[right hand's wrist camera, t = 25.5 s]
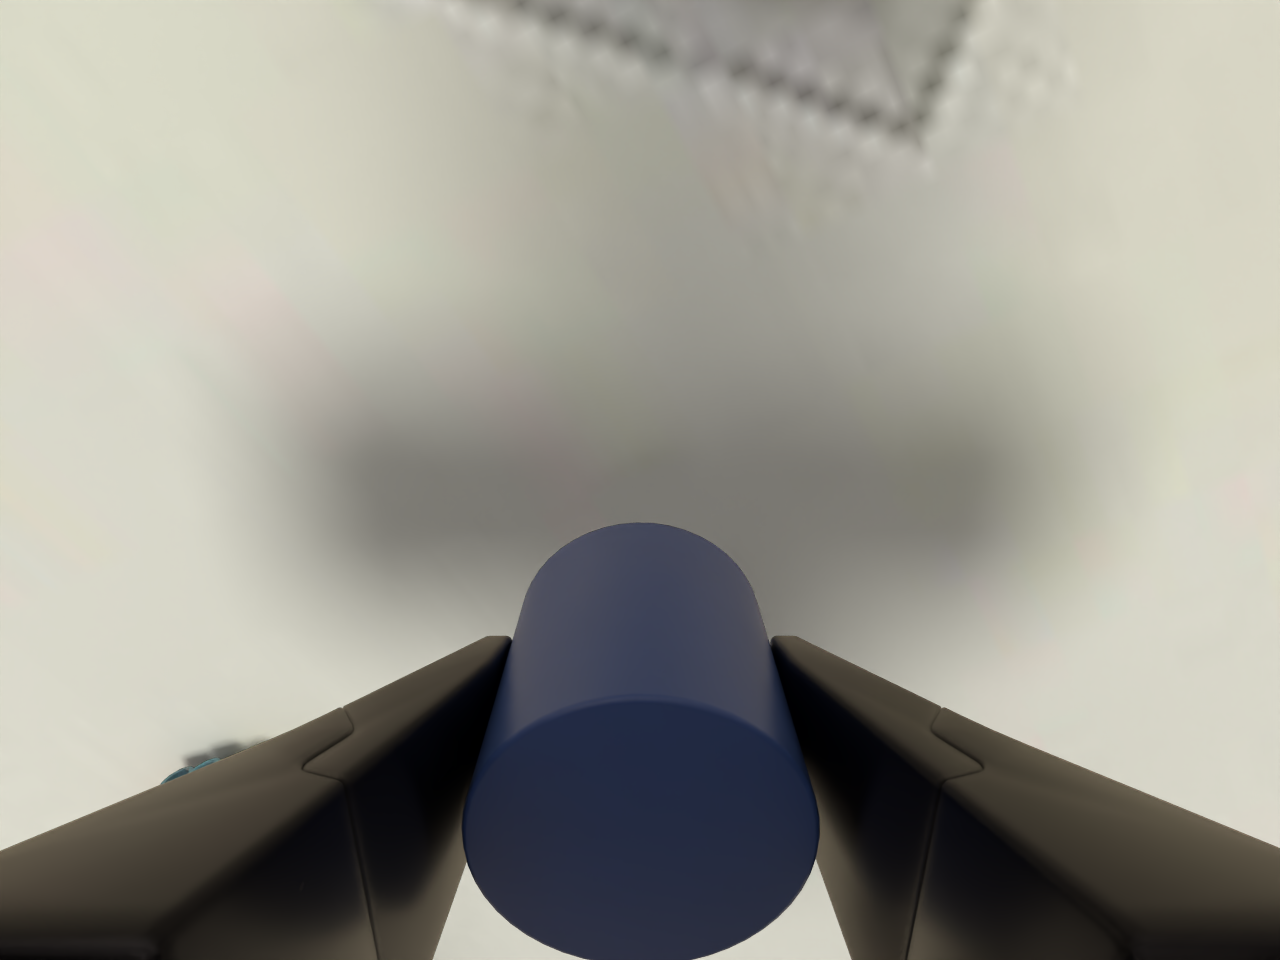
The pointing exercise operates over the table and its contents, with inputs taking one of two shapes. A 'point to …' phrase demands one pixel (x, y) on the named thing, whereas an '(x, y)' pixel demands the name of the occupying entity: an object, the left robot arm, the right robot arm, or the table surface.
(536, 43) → the table surface
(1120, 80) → the table surface
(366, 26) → the table surface
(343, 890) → the right robot arm
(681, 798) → the can
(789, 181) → the table surface
